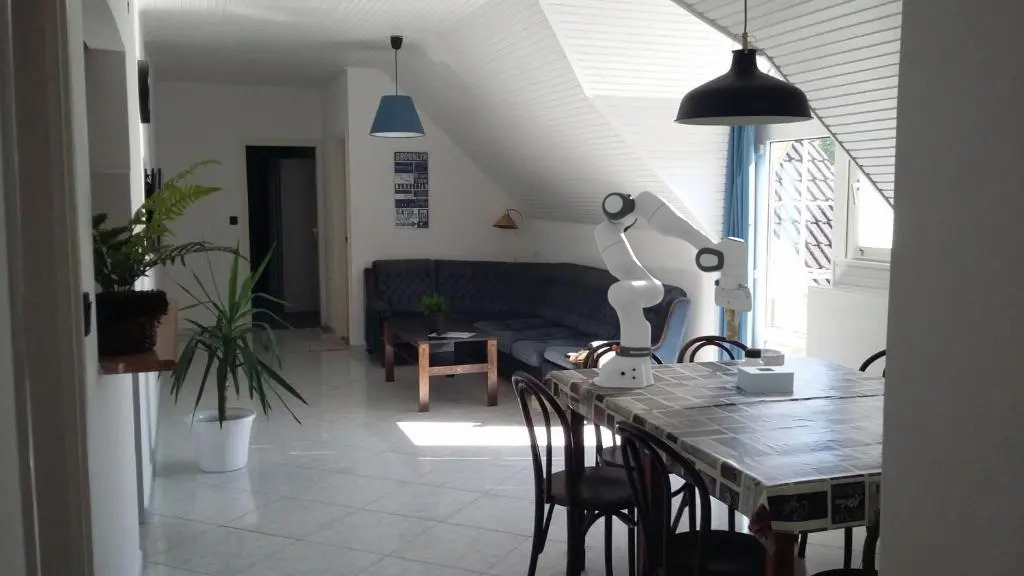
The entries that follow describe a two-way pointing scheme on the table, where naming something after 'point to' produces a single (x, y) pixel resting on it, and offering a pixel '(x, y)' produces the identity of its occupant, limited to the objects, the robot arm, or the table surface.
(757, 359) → the medicine bottle
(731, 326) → the peg
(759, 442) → the table surface
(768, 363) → the paper bowls
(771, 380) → the socket block
